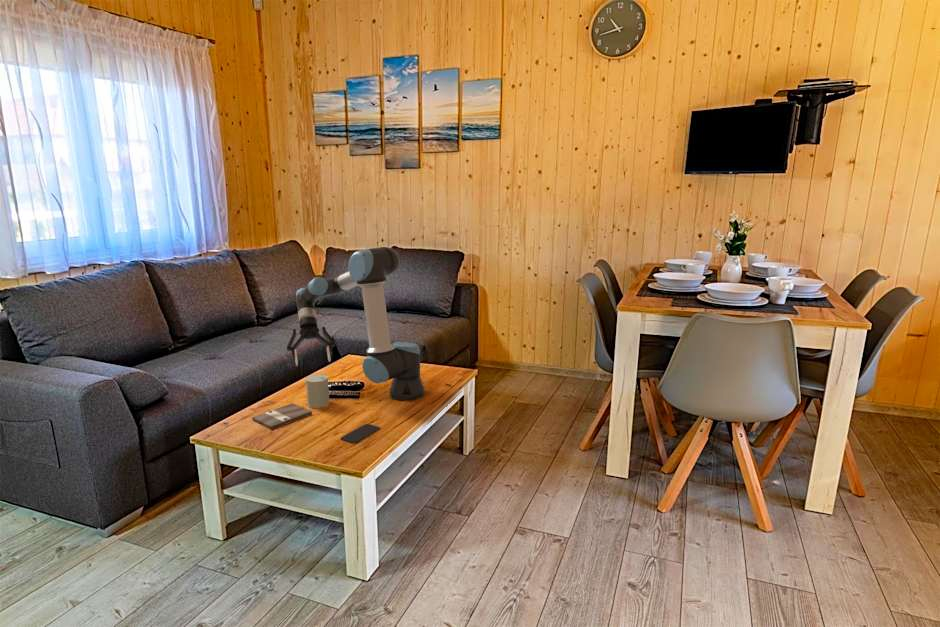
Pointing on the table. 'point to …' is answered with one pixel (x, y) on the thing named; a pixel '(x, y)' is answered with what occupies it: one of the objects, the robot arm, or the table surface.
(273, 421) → the grey flat block
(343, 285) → the robot arm
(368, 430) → the phone
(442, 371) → the table surface
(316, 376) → the can
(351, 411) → the table surface
